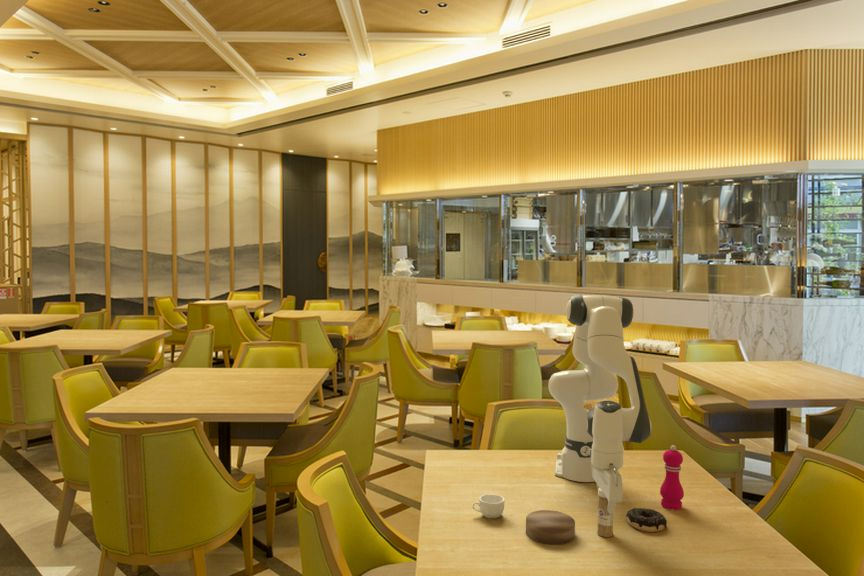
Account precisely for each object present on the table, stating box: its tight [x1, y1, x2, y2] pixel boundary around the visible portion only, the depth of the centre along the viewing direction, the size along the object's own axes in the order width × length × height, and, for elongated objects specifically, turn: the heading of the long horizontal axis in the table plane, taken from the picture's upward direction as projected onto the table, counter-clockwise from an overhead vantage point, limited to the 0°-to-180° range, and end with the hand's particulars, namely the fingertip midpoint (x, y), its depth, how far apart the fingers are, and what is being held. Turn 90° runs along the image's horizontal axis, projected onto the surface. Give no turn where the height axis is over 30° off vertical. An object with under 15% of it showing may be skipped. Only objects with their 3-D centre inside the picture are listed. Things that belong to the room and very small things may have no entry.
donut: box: [625, 507, 668, 533], centre depth 190 cm, size 11×12×4 cm
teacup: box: [472, 493, 506, 520], centre depth 196 cm, size 10×8×5 cm
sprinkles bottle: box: [596, 488, 614, 538], centre depth 183 cm, size 5×5×14 cm
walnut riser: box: [525, 509, 576, 546], centre depth 184 cm, size 14×14×4 cm
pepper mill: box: [659, 444, 685, 511], centre depth 204 cm, size 7×7×20 cm
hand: (606, 505), depth 183 cm, fingers open, 8 cm apart
